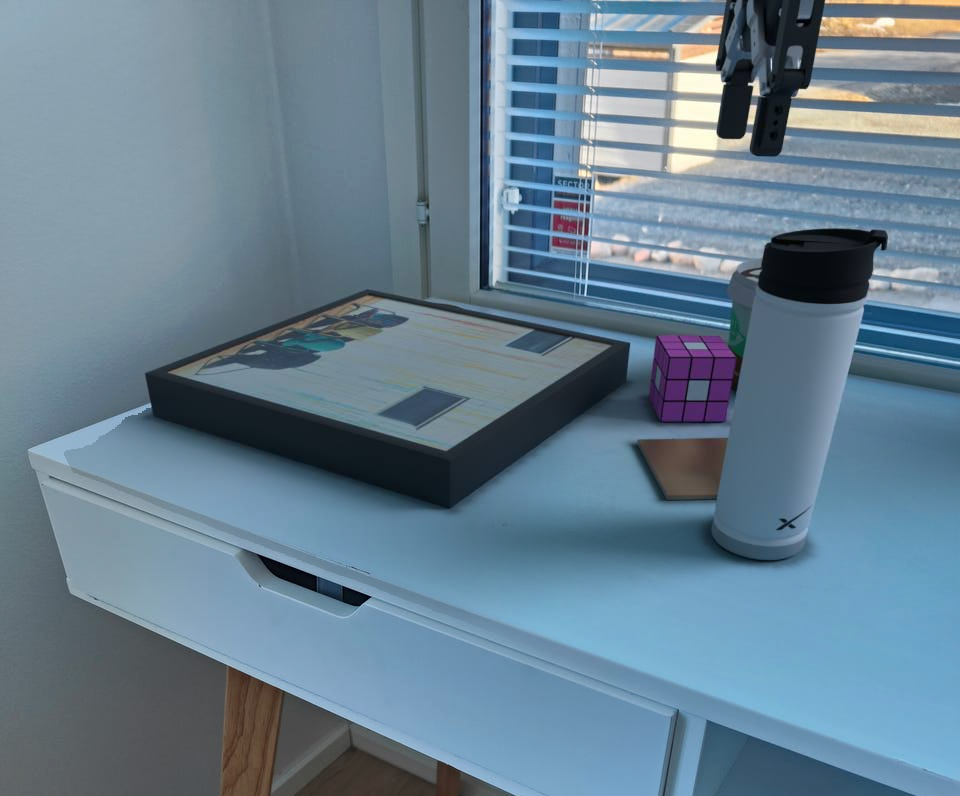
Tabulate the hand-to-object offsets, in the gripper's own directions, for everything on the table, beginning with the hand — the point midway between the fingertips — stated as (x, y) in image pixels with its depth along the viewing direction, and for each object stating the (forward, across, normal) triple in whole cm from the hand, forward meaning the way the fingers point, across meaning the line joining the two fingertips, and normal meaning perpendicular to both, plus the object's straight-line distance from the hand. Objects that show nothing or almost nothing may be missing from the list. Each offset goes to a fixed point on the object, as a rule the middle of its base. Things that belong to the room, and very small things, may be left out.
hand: (746, 146), depth 72 cm
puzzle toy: (+21, -1, +2) cm, 21 cm away
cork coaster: (+21, -13, +3) cm, 25 cm away
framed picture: (+21, +2, +27) cm, 34 cm away
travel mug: (+21, -24, +3) cm, 32 cm away
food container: (+21, +5, -6) cm, 22 cm away
